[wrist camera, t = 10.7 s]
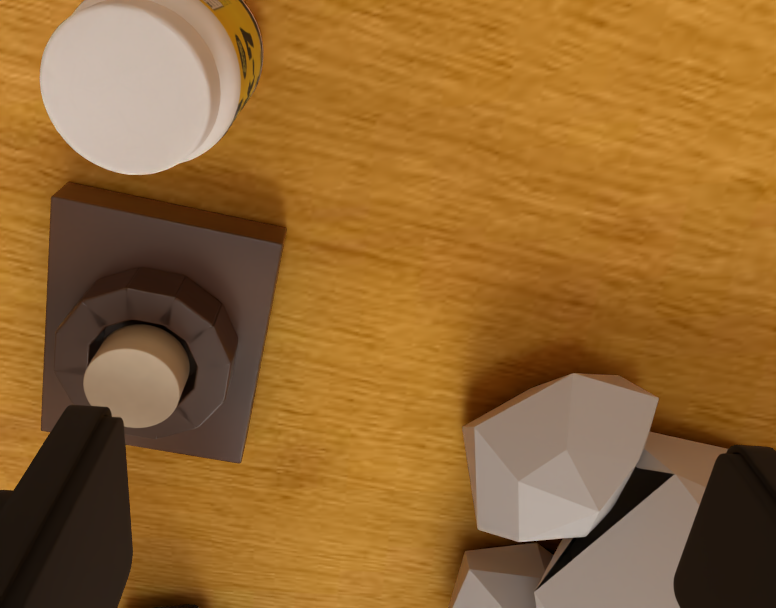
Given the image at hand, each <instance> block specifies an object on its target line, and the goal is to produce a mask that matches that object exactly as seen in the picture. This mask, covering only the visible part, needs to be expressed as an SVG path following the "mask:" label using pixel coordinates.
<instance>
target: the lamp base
mask: <svg viewBox="0 0 776 608" xmlns="http://www.w3.org/2000/svg"><path fill="white" fill-rule="evenodd" d="M286 231H287V229H286V228H284V227H279V226H275V225H270V224H265V223H260V222H256V221H251V220H246V219H241V218H237V217H232V216H227V215H222V214H218V213H213V212H208V211H203V210H199V209H194V208H189V207H184V206H180V205H175V204H170V203H165V202H161V201H156V200H151V199H147V198H142V197H137V196H132V195H128V194H123V193H118V192H113V191H109V190H104V189H99V188H94V187H90V186H85V185H80V184H75V183H71V182H68V183H67V184H66V185H64V186H63V187H62V188H61V189H60V190H58V191H57V192H56V193H55V194H54V195H53V196H52V197H51V214H50V236H49V259H48V281H47V304H46V326H45V348H44V371H43V393H42V416H41V430H42V431H46V432H51V431H52V429H53V428H54V426H55V424H56V423H57V421H58V420H59V418H60V416H61V415H62V413H63V412H64V410H65V409H66V408H67V406H69V405H85V406H91V405H90V403H89V402H88V400H87V397H86V395H85V392H84V386H83V379H84V374H85V371H86V369H87V367H88V365H89V364H90V362H91V361H92V359H93V357H94V356H95V354H96V353H97V351H98V349H99V348H100V346H101V345H102V343H103V341H104V340H105V339H106V337H107V336H108V335H110V334H111V333H112V332H113V331H115V330H117V329H119V328H121V327H124V326H128V325H134V324H144V325H150V326H155V327H157V328H160V329H162V330H164V331H166V332H168V333H169V334H171V335H172V336H174V337H175V338H176V339H177V340H178V341H179V342H180V343H181V345H182V346H183V347H184V349H185V351H186V353H187V356H188V359H189V364H190V371H189V376H188V379H187V381H186V384H185V387H184V389H183V392H182V394H181V397H180V400H179V402H178V405H177V407H176V409H175V410H174V412H173V413H172V414H171V415H170V416H169V417H168V418H167V419H165V420H164V421H162V422H161V423H158V424H156V425H153V426H150V427H144V428H131V427H125V426H124V433H125V445H131V446H137V447H143V448H149V449H155V450H161V451H167V452H173V453H179V454H185V455H191V456H197V457H203V458H209V459H216V460H222V461H228V462H234V463H241V461H242V457H243V452H244V448H245V443H246V439H247V433H248V428H249V423H250V418H251V413H252V408H253V402H254V397H255V392H256V387H257V382H258V376H259V371H260V366H261V361H262V356H263V350H264V345H265V340H266V335H267V330H268V324H269V319H270V314H271V309H272V304H273V298H274V293H275V288H276V283H277V278H278V273H279V267H280V262H281V257H282V252H283V247H284V241H285V236H286Z"/></svg>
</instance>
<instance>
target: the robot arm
mask: <svg viewBox="0 0 776 608" xmlns="http://www.w3.org/2000/svg"><path fill="white" fill-rule="evenodd" d="M132 556H133V546H132V532H131V518H130V504H129V490H128V476H127V461H126V447H125V433H124V423H123V419H122V418H121V417H112V413H111V410H110V408H108V407H101V406H85V405H69V406H67V408H66V409H65V410H64V412H63V413H62V415H61V416H60V418H59V420H58V421H57V423H56V424H55V426H54V428H53V429H52V431H51V432H50V434H49V436H48V437H47V439H46V440H45V442H44V443H43V445H42V447H41V448H40V450H39V451H38V453H37V455H36V456H35V458H34V459H33V461H32V462H31V464H30V466H29V467H28V469H27V470H26V472H25V474H24V475H23V477H22V478H21V480H20V481H19V483H18V485H17V486H16V488H15V489H14V491H10V490H0V608H117V607H118V604H119V601H120V599H121V596H122V593H123V590H124V588H125V585H126V582H127V579H128V577H129V573H130V569H131V564H132ZM673 586H674V593H675V597H676V600H677V602H678V604H679V606H680V608H776V451H775V450H774V449H773V448H770V447H762V446H745V445H734V446H731V447H730V448H729V449H728V450H727V452H726V453H723V454H720V455H719V456H718V457H717V459H716V461H715V464H714V466H713V469H712V472H711V475H710V477H709V480H708V483H707V486H706V489H705V491H704V494H703V497H702V500H701V503H700V505H699V508H698V511H697V514H696V516H695V519H694V522H693V525H692V528H691V530H690V533H689V536H688V539H687V541H686V544H685V547H684V550H683V553H682V555H681V558H680V561H679V564H678V567H677V569H676V572H675V575H674V582H673Z"/></svg>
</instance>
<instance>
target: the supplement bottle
mask: <svg viewBox="0 0 776 608" xmlns="http://www.w3.org/2000/svg"><path fill="white" fill-rule="evenodd" d="M262 65H263V44H262V38H261V34H260V30H259V27H258V24H257V22H256V20H255V18H254V16H253V14H252V12H251V11H250V9H249V8H248V6H247V5H246V4H245V2H244V1H243V0H84V1H83V2H82V3H81V4H80V5H79V6H78V7H77V8H76V10H75V11H74V12H73V14H72V15H71V16H70V17H68V18H67V19H66V20H65V21H63V22H62V23H61V24H60V25H59V26H58V28H57V29H56V30H55V31H54V33H53V34H52V36H51V38H50V39H49V41H48V43H47V45H46V47H45V49H44V53H43V56H42V61H41V67H40V88H41V94H42V98H43V102H44V105H45V108H46V111H47V113H48V115H49V117H50V119H51V121H52V123H53V124H54V126H55V128H56V130H57V131H58V132H59V134H60V135H61V136H62V138H63V139H64V140H65V141H66V142H67V143H68V144H69V145H70V146H71V147H72V148H73V149H74V150H75V151H76V152H77V153H79V154H80V155H81V156H83V157H84V158H85V159H87V160H89V161H90V162H92V163H94V164H96V165H98V166H100V167H103V168H105V169H107V170H110V171H114V172H117V173H122V174H129V175H146V174H153V173H157V172H161V171H164V170H167V169H169V168H171V167H174V166H175V165H177V164H179V163H183V162H186V161H189V160H192V159H194V158H196V157H198V156H200V155H202V154H203V153H205V152H206V151H208V150H209V149H210V148H212V147H213V146H214V145H215V144H216V143H217V142H218V141H219V140H220V139H221V138H222V137H223V136H224V135H225V134H226V132H227V131H228V129H229V128H230V126H231V125H232V123H233V121H234V120H235V119H236V117H237V116H238V114H239V113H240V111H241V110H242V108H243V107H244V105H245V104H246V103H247V101H248V100H249V98H250V97H251V95H252V94H253V92H254V91H255V88H256V86H257V84H258V81H259V79H260V75H261V71H262Z"/></svg>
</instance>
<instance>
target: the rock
mask: <svg viewBox="0 0 776 608" xmlns="http://www.w3.org/2000/svg"><path fill="white" fill-rule="evenodd" d="M658 400H659V398H658V397H656V396H654V395H653V394H651V393H649V392H647V391H645V390H644V389H642V388H640V387H638V386H637V385H635V384H633V383H631V382H630V381H628V380H626V379H624V378H623V377H621V376H619V375H603V374H582V373H572V374H569V375H566V376H564V377H561V378H558V379H555V380H552V381H549V382H547V383H544V384H541V385H538V386H535V387H533V388H530V389H528V390H527V391H525V392H523V393H521V394H519V395H518V396H516V397H514V398H512V399H511V400H509V401H507V402H505V403H504V404H502V405H500V406H498V407H496V408H495V409H493V410H491V411H489V412H488V413H486V414H484V415H482V416H480V417H479V418H477V419H475V420H473V421H472V422H470V423H468V424H466V425H465V426H463V427H462V430H463V436H464V443H465V450H466V456H467V463H468V469H469V476H470V482H471V489H472V495H473V502H474V509H475V515H476V522H477V528H478V530H481V531H484V532H487V533H491V534H494V535H497V536H500V537H504V538H507V539H510V540H514V541H517V542H527V541H539V540H551V539H562V538H563V539H562V541H561V542H560V544H559V546H558V548H557V550H556V552H555V554H554V555H553V554H551V553H550V552H549V551H547V550H546V549H544V548H543V547H542V546H540V545H539V544H538V543H529V544H521V545H512V546H504V547H495V548H487V549H478V550H470V551H465V553H464V556H463V559H462V563H461V566H460V570H459V573H458V576H457V580H456V583H455V587H454V590H453V593H452V597H451V600H450V604H449V607H448V608H680V606H679V604H678V602H677V600H676V597H675V593H674V586H673V582H674V575H675V572H676V569H677V567H678V564H679V561H680V558H681V555H682V553H683V550H684V547H685V544H686V541H687V539H688V536H689V533H690V530H691V528H692V525H693V522H694V519H695V516H696V514H697V511H698V508H699V505H700V503H701V500H702V497H703V494H704V491H705V489H706V486H707V483H708V480H709V477H710V475H711V472H712V469H713V466H714V464H715V461H716V459H717V457H718V456H719V455H720V454H723V453H726V452H727V450H728V449H726V448H722V447H717V446H713V445H708V444H704V443H699V442H694V441H690V440H685V439H681V438H676V437H672V436H667V435H663V434H658V433H654V432H649V431H650V428H651V424H652V421H653V417H654V414H655V410H656V407H657V404H658Z"/></svg>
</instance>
